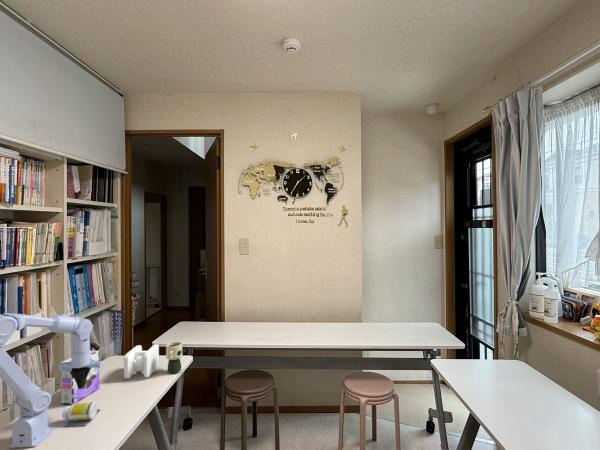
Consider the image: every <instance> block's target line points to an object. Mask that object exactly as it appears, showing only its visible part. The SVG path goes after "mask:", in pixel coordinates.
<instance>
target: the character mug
mask: <svg viewBox="0 0 600 450" xmlns="http://www.w3.org/2000/svg"><path fill="white" fill-rule="evenodd" d="M182 357H183V343H182V342H180V341H172V342H168V343H166V345H165V358H166V359H167V361H168V363H167V371H166V372H167V373H173V374H176V373H179V372H181V370H182V363H181V358H182Z"/></svg>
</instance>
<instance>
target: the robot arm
mask: <svg viewBox="0 0 600 450" xmlns="http://www.w3.org/2000/svg"><path fill="white" fill-rule="evenodd" d="M25 327H30V328H31V327H34V328H47V329H48V331H49V332H50V333H59V334H70V335H71V336H70V339H71V340H70V341H71V345H70V346H71V347H70V348H71V349H70V350H71V358H72V361H70V362H63V361H61V362H62V363H59V364H58V370H59V371H61V369H69V368H72V371H71V372H70V374H71V375H72V376H73V378H74V379H75V381H76V384H77V387H78V389H82V388H83V387H84V386H85V382H86V379H87V376H88V373H89V371H90V369H91V368H96V367H97V368H99V369H100V368H102V367H103V364H104V361H103V360H99V361H96V360H90V350H91V348H90V347H91V343H90V342H91V341H90V340H91V339H90V337H91V332H92V330H93V329H94V324H92V321H91V320H90V319H88V318H83V317H79V315H74V316H70V315H69V316H67V314H65V313H60V314H55V315H53V316H52V317H45V316H38V315H31V314H22V313H12V312H11V313H8V312H7V313H5V312H3V313H2V314H1V313H0V379H1V380H2V382H3V383H5V384H6V386H7V387H8V388H9V389H10V390H11V391H12V392H13V393H12V395H13V396H14V398H15V402H16V405H17V406H18V407H19V409H20V410H19V417H18V419H17V420H16V422H14V424H13V425H12V428H11V433H12V435H11V437H12V443H11V445H9V448H10V449H15V448H17V449H18V448H34V447H37V445H39V444H40V443H41V442H42V441H43V440H44V439H46V437H47V436H49V435H50V434H51V433H52V432H53V431H54V430H55V428H54V427H49V424H48V423H49V422H48V421H49V420H48V419H49V418H48V417H49V416H48V408H49V406H50V405H51V402H52V395H51V393H49V392H47V391H43V390H42V389H41V387H39V386H38V385H36V384H35V383H33V381H32V380H31V379H30V378H29V377H28V376H27V374H26V373H25V372H24V371H23V370H22V369H21V368H20V366H19V365H18V364H17V363H16V362H15V361H14V360H13V358H12V357H11V356H10V355H9V354H8V352H7V351H6V350H5V349H4V348H5V345H6V344H7V343H8V341H9V340H10V338H11V337H13V335H14V334H15V332H16V331H19V332H20V331H21V330H22V329H24V328H25Z"/></svg>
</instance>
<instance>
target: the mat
mask: <svg viewBox="0 0 600 450" xmlns="http://www.w3.org/2000/svg"><path fill="white" fill-rule="evenodd" d="M99 412H101V409H100V408H97V413H96V415H97V414H98V413H99ZM92 420H93V419H90V420H75V421H71V420H70V419H69V420H68V421H67V423H65V424H64V428H75V427H87V425H88V424H89V423H90V422H91V421H92Z"/></svg>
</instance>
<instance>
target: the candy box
mask: <svg viewBox="0 0 600 450" xmlns="http://www.w3.org/2000/svg"><path fill="white" fill-rule="evenodd" d="M99 354H100V352H99V350H92V349H90V360H96V361H100V355H99ZM70 361H72V357H69V358H68V359H65V360H64V361H63V360H62V361H61V362H60V363H62V362H70ZM60 363H59V364H60ZM59 371H60V404H63V405H64V404H65V405H69V406H72V405H73V404H77V403H79V402H80V401H81V400H83V399H85V398H86V397H88V396H90V395H91V394H93V393H94V392H96V391H97V390H99V389H100V368H97V367H96V368H91V369H90V371H89V373H88V376H87V379H86V382H85V386H84V387H83V388H82V389H78V387H77V384H76V381H75V379H74V378H73V376H72V375H71V374H70V372H71V371H72V368H69V369H61V370H59Z"/></svg>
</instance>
